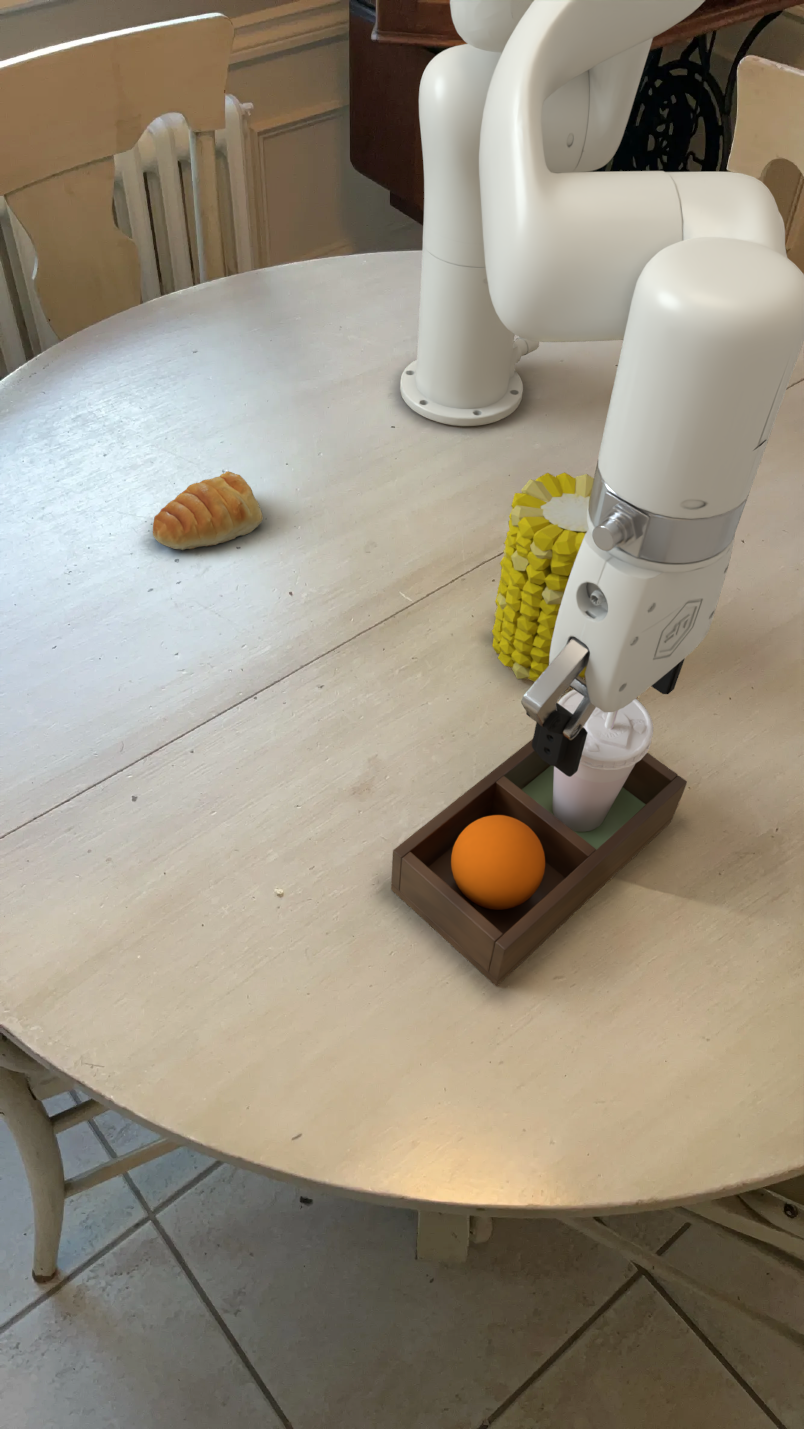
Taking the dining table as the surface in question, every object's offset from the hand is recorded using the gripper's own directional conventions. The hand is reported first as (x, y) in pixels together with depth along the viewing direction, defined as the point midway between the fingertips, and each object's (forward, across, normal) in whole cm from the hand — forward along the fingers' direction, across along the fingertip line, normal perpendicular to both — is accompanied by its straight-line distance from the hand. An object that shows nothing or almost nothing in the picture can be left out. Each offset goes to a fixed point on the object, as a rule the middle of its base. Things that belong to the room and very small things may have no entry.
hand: (603, 719), depth 66 cm
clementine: (+7, -9, 0) cm, 11 cm away
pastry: (+11, +1, +42) cm, 44 cm away
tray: (+11, -4, 0) cm, 12 cm away
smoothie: (+10, 0, 0) cm, 10 cm away
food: (+11, +12, +12) cm, 20 cm away
